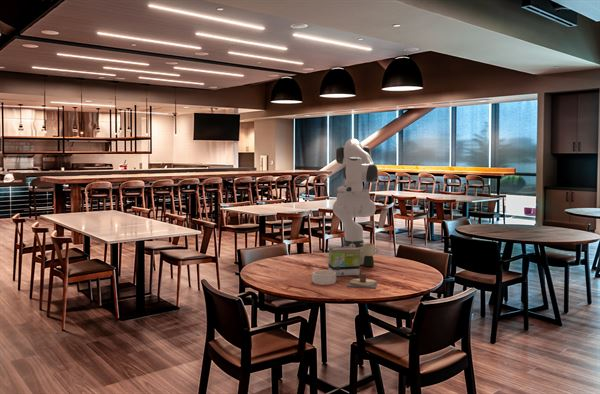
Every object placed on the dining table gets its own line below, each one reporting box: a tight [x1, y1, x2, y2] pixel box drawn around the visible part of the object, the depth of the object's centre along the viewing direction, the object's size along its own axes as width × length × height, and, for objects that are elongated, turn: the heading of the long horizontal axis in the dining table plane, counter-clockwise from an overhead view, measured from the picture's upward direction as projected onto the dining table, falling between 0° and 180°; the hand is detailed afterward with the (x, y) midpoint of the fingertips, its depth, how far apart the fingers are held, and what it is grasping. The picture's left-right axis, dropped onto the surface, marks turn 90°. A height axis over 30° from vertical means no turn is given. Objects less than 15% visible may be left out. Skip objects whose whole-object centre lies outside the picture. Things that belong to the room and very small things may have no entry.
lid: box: [349, 272, 377, 286], centre depth 259 cm, size 13×13×5 cm
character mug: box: [360, 243, 379, 267], centre depth 301 cm, size 11×7×13 cm, turn 79°
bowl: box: [311, 269, 337, 286], centre depth 264 cm, size 12×12×5 cm
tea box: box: [327, 246, 361, 277], centre depth 281 cm, size 15×10×15 cm
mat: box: [346, 278, 379, 289], centre depth 259 cm, size 14×14×1 cm
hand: (353, 214), depth 267 cm, fingers open, 8 cm apart
